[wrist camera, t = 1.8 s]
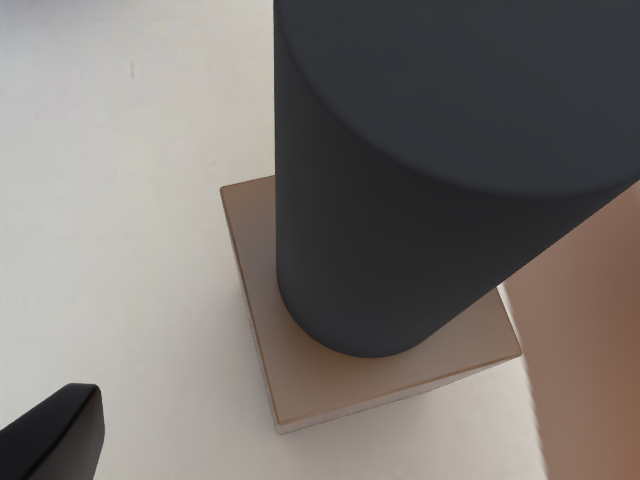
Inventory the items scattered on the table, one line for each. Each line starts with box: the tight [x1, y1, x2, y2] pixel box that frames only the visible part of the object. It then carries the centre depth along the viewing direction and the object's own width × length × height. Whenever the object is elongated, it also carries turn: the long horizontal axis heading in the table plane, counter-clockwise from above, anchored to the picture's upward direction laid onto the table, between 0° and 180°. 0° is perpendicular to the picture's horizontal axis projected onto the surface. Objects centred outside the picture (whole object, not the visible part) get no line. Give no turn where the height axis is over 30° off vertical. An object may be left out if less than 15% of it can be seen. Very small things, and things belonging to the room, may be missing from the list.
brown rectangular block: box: [220, 175, 522, 435], centre depth 18 cm, size 6×6×9 cm
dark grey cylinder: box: [273, 0, 640, 358], centre depth 10 cm, size 4×4×9 cm
